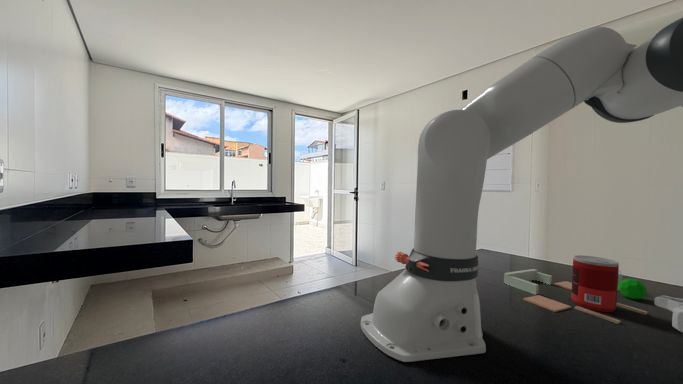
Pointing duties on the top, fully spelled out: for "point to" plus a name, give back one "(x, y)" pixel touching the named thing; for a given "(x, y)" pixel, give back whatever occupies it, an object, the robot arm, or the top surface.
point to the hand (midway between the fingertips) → (657, 299)
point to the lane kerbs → (610, 317)
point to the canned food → (595, 283)
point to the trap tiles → (548, 302)
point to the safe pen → (526, 280)
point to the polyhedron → (632, 289)
